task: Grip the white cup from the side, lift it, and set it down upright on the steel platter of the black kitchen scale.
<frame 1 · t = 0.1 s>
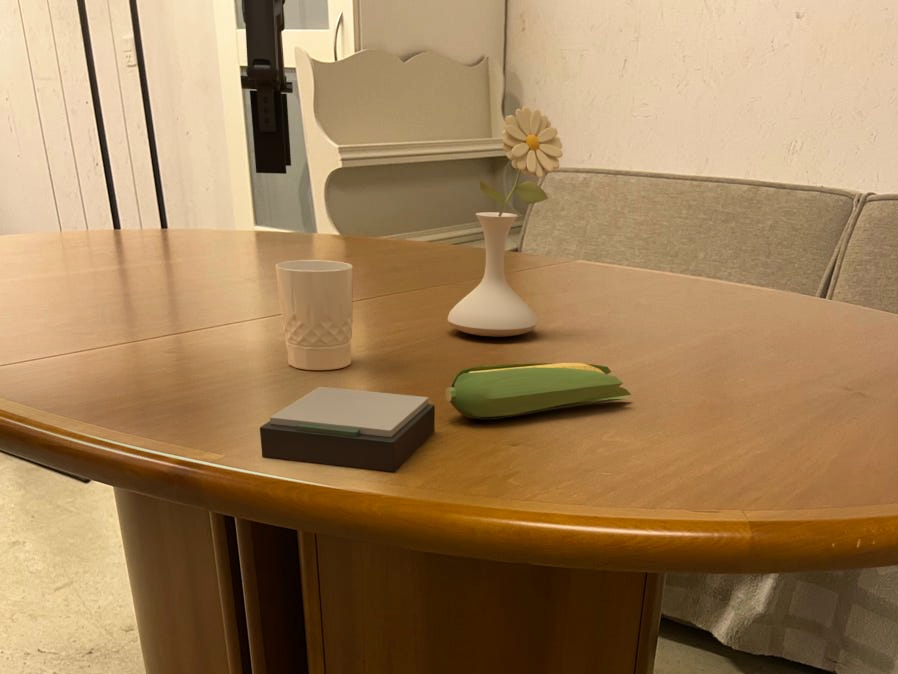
hand: (274, 169, 91), 19 cm above the table, tool pointing down, fingers open, 13 cm apart
white cup: (319, 365, 100), on the table
flower in vase: (498, 335, 117), on the table
edible corn: (543, 414, 87), on the table
scale: (352, 443, 77), on the table
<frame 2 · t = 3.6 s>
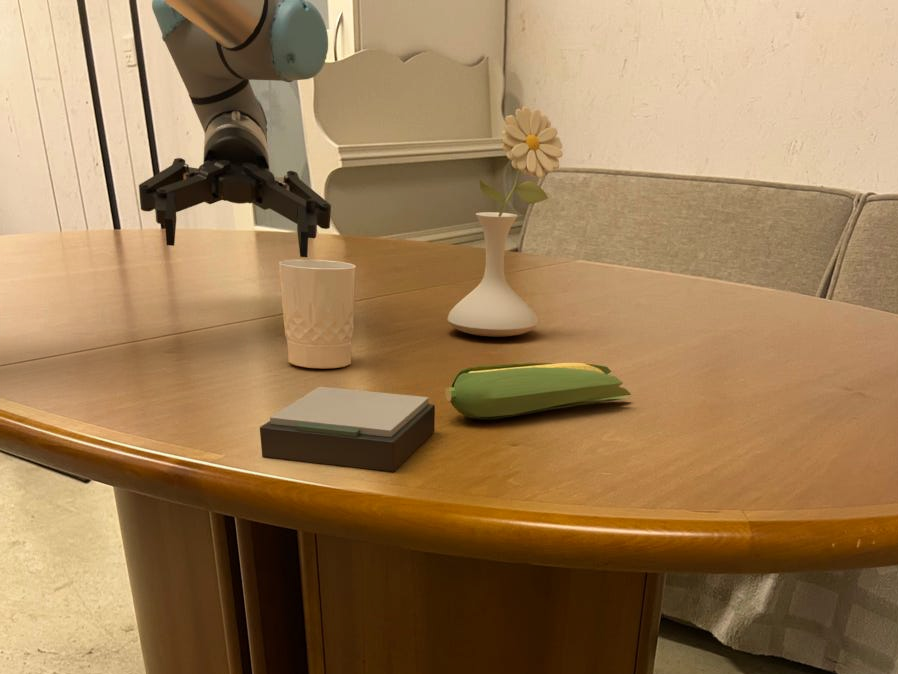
hand: (238, 238, 96), 12 cm above the table, tool tilted 70°, fingers open, 13 cm apart
white cup: (319, 364, 100), on the table, touching gripper
everything else where it was.
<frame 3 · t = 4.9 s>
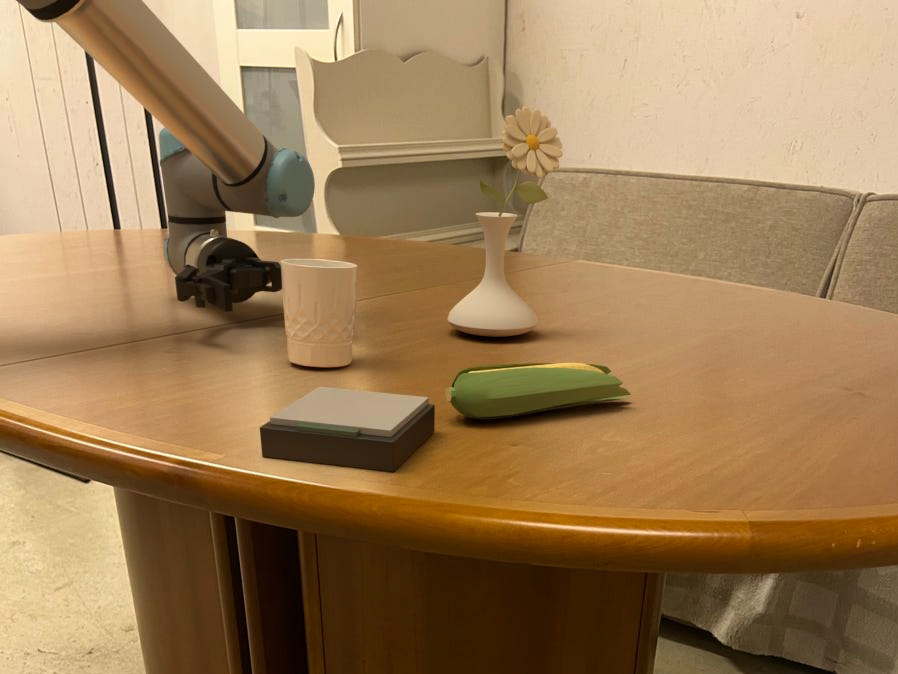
hand: (287, 294, 103), 6 cm above the table, tool horizontal, fingers open, 13 cm apart
white cup: (319, 363, 100), on the table
everything else where it was.
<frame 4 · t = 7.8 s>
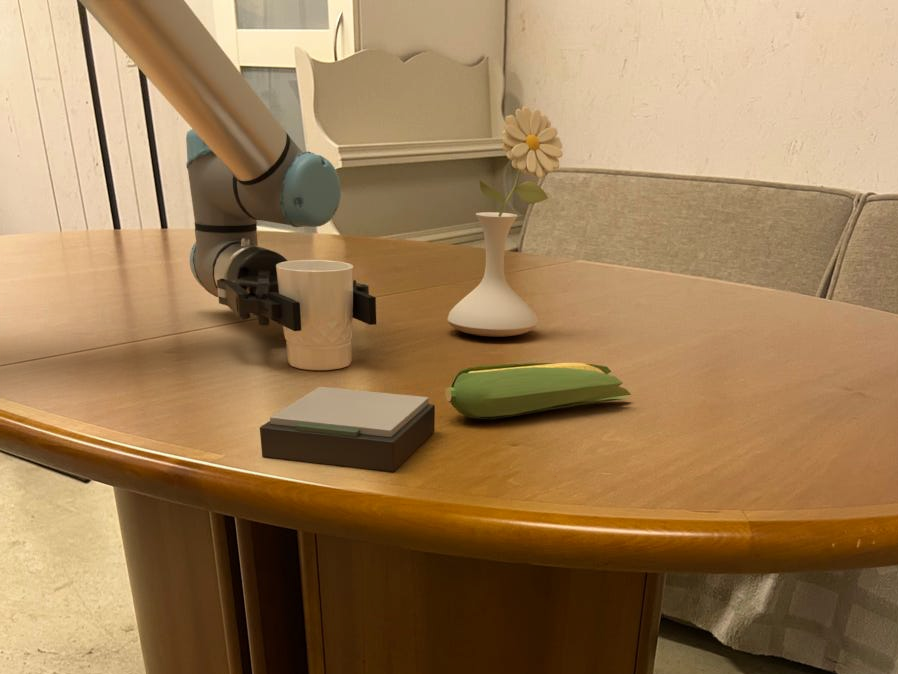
hand: (335, 313, 94), 6 cm above the table, tool horizontal, fingers closed on white cup, 8 cm apart
white cup: (320, 365, 100), on the table, touching gripper
everything else where it was.
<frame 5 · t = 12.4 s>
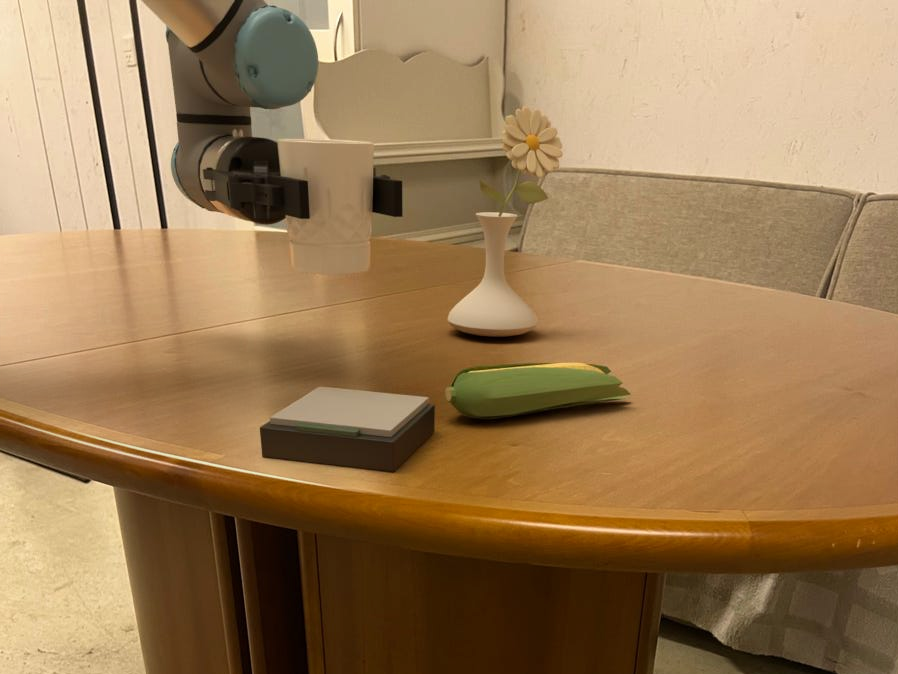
hand: (352, 199, 75), 18 cm above the table, tool horizontal, fingers closed on white cup, 8 cm apart
white cup: (331, 272, 81), point 12 cm above the table, touching gripper
everything else where it was.
when the fingers open (9 cm above the table, at t = 16.9 s): white cup stays where it is, resting on scale.
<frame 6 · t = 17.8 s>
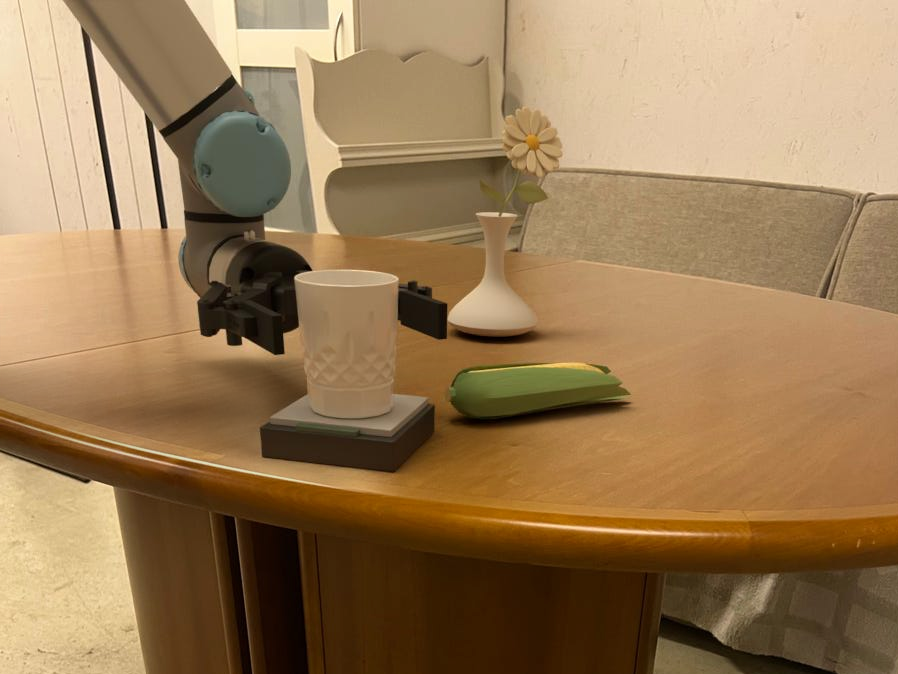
hand: (364, 328, 69), 10 cm above the table, tool horizontal, fingers open, 13 cm apart
white cup: (351, 410, 75), point 3 cm above the table, touching scale
everything else where it was.
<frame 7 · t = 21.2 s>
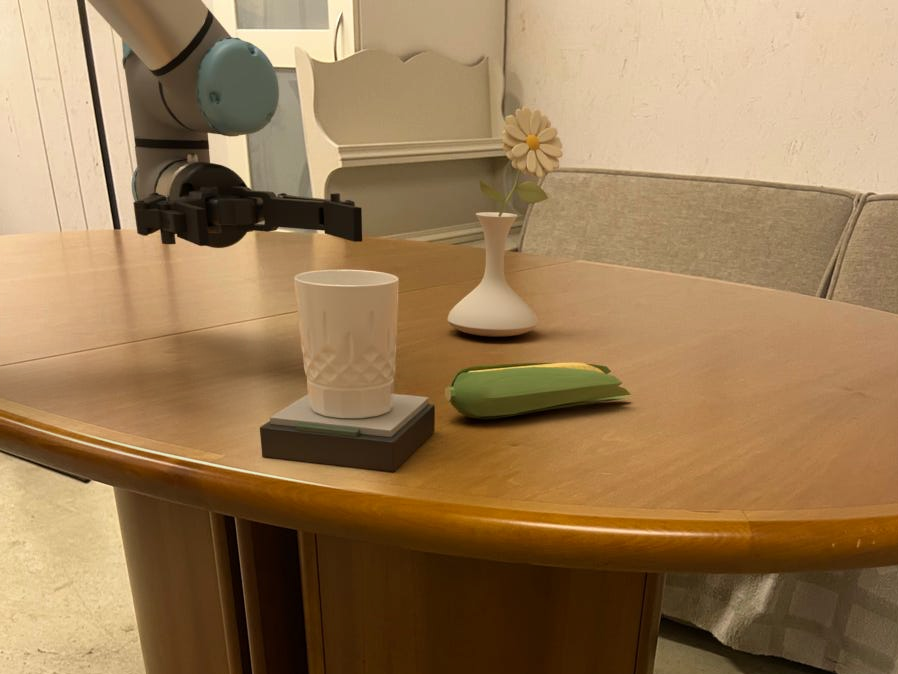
hand: (283, 226, 77), 15 cm above the table, tool horizontal, fingers open, 13 cm apart
nothing on the table moved.
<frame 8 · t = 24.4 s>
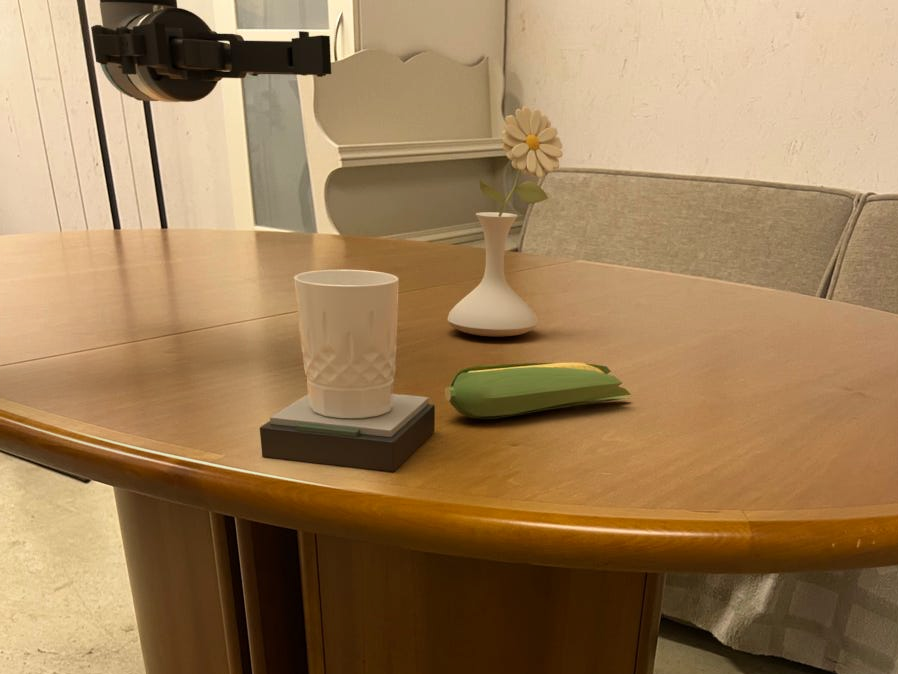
hand: (247, 49, 74), 28 cm above the table, tool horizontal, fingers open, 13 cm apart
nothing on the table moved.
at the end: white cup inside the target area on the scale (0.4 cm from its centre), point 2.8 cm above the scale's base; white cup tilted 0°; the gripper is holding nothing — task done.
